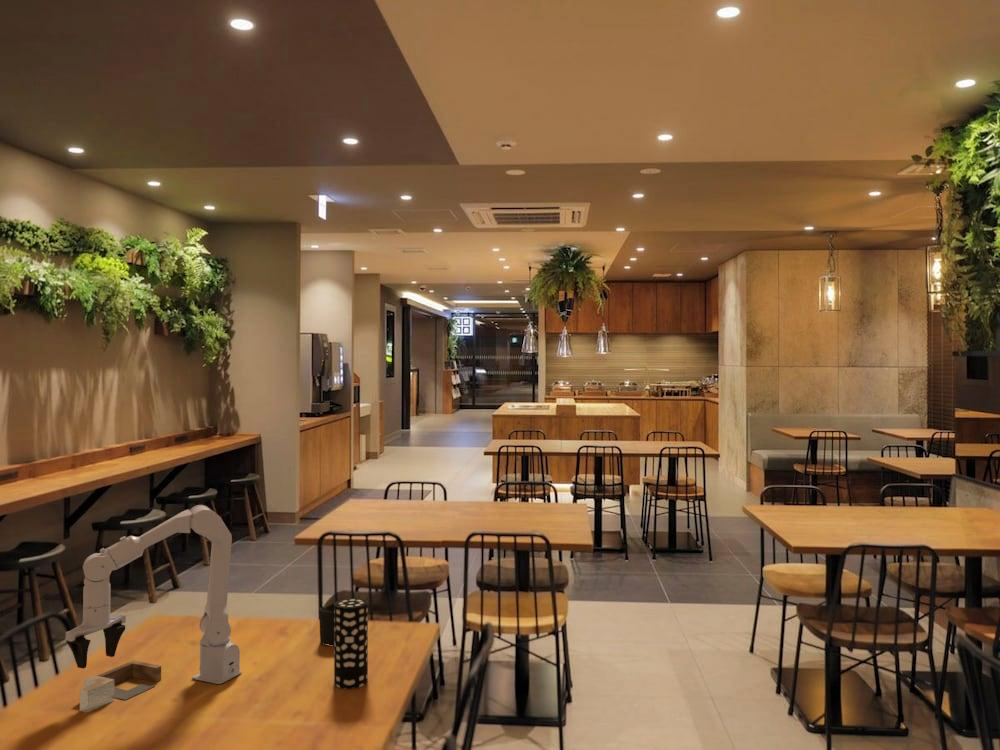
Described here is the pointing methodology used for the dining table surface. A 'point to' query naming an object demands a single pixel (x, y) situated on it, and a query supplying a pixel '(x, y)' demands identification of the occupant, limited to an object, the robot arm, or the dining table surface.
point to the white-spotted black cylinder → (350, 643)
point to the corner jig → (134, 672)
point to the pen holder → (327, 624)
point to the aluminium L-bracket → (96, 693)
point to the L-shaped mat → (131, 691)
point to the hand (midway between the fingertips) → (96, 661)
